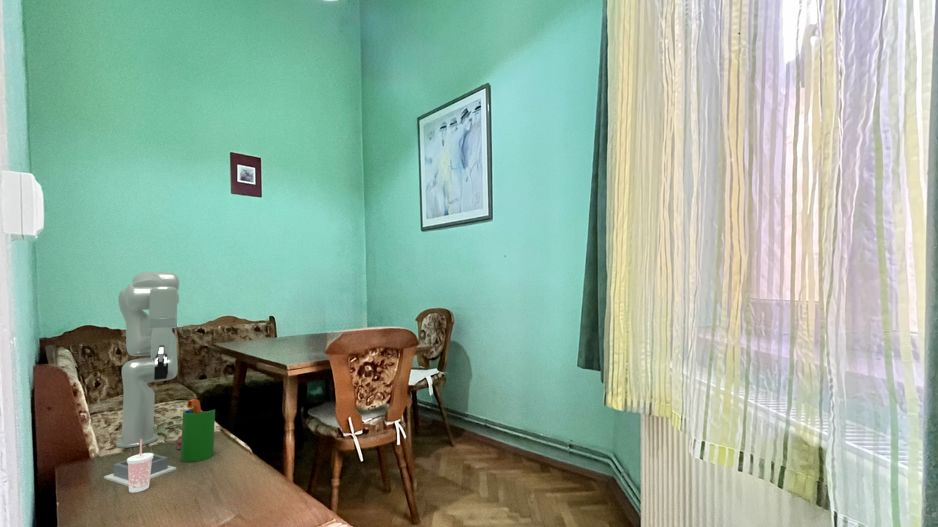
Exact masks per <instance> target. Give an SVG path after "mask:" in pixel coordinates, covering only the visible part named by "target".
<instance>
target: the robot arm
mask: <svg viewBox="0 0 938 527" xmlns="http://www.w3.org/2000/svg"><path fill="white" fill-rule="evenodd" d="M179 288H180V280H179V277H178V276H177V275H176V274H175V273H173V272H166V271H165V272H162V271H160V272H157V271H145V272H139V273H138V274H136V275H135V276H134V277H133V279H132V281H131V283H129V284H128V285H127V286H126V288H123V289H121V290H120V292H119V294H118V298H117V301H118V307H119V311H120V312H121V315H122V317H123V320H124V322H125V344H126V345H125V347H126V352H127V354H128V355H129V356H133V357H143V356H150V357H143V358H136V359H131V360H128V361H126V362H125V363H123V365H122V367H121V378H122V384H123V385H122V388H123V399H122V400H123V402H122V403H123V404H122V421H121V423H122V424H121V425H122V426H121V431H120V435H121V439H120V440H117V441H116V443H115V447H117V448H123V449H124V448H134V447H140V439H142V446H144V445H148V444H151V443H154V442H155V441H157V440H158V439H159V435H158V434H157V433H154V424H155V399H156V395H155V394H156V393H155V392H154V390H153V389H152V388H151V387H150V386H148V384H150V383H155V382H164V381H170V380H172V379H175V378H176V377H177V375H178V370H179V369H178V368H179V367H178V364H179V363H178V351H177V350H178V349H177V346H178V345H177V338H176V337H177V336H176V335H175V333H174V332H173V329H177V328H178V304H179V302H180V294H179ZM144 310H145V311H144ZM146 310H148V313H147V312H146Z"/></svg>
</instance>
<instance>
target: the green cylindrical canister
mask: <svg viewBox="0 0 938 527" xmlns="http://www.w3.org/2000/svg"><path fill="white" fill-rule="evenodd" d="M186 406H187V408H189V409H186V410H184V411H183V412H182V423H181V425H182V426H181V435H182V442H181V449H180V461H181V462H183V463H184V462H186V463H188V462H189V463H191V462H198V461H204V460H207V459H209V458H212V457H214V445H215V425H216V424H215V423H216V422H215V421H216V409H211V410H209V411H206V410H205V411H204V410H203V411H202V410H201V402H200V400H199V399H198V398H197V399H196V398H195V399H193V398H192V399H190V400H187V405H186Z"/></svg>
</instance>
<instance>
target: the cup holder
mask: <svg viewBox="0 0 938 527" xmlns="http://www.w3.org/2000/svg"><path fill="white" fill-rule="evenodd" d="M153 454H154V455H153V458H152V464H151V473H150V480H152V479H155V478H158V477H160V476H162V475H165V474H168V473H171V472H174V471H176V470H177V467H175V466H172V465H169V457H167V456H164V455H160V454H156V453H153ZM103 479H104V480H107V481H111V482H114V483H116V484H119V485H122V486H125V487H128V488H129V476H128V463H127V459H126V460H123V461H121V462H120V461H119V462H117V463H114V464H113V473H110V474H108V475H104V476H103Z"/></svg>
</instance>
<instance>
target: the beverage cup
mask: <svg viewBox="0 0 938 527" xmlns="http://www.w3.org/2000/svg"><path fill="white" fill-rule="evenodd" d="M154 454H155V453H153V452H144V453H143V445H142V439H140V446H139V453H138V454H135V455H132V456H129V457H128V458H127V459H126V460H127V463H128V476H129V487H128V492H129V493H139V492H142V491H144V490H147V489H148V488H149V487H150V480H151V479H150V473H151V464H152V458H153V455H154Z"/></svg>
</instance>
